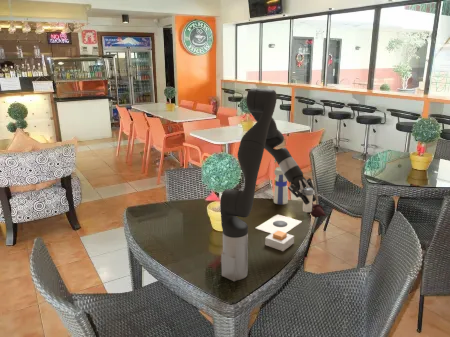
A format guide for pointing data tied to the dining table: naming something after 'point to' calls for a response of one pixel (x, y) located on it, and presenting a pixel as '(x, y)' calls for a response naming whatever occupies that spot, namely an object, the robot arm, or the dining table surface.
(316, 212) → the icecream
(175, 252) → the dining table surface
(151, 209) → the dining table surface
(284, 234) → the button
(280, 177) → the water bottle
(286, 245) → the button housing
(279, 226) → the paper
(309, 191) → the salt shaker
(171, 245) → the dining table surface
